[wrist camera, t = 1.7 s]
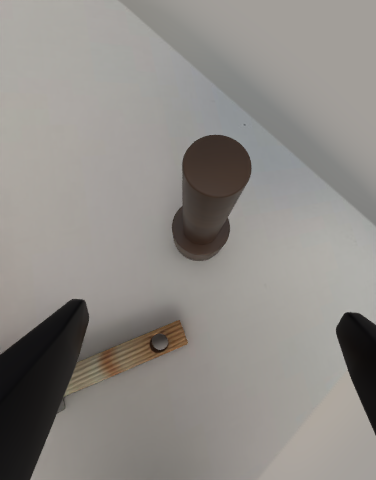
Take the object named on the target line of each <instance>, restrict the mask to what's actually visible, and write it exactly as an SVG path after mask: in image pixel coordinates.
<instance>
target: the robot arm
mask: <svg viewBox="0 0 376 480" xmlns="http://www.w3.org/2000/svg"><path fill="white" fill-rule="evenodd" d="M88 322H89V314H88V310H87V306H86V302H85V300H83V299H72V300H70V301H69V302H67V303H66V304H65V305H64V306H62V307H61V308H60V309H58V310H57V311H56V312H55V313H53V314H52V315H51V316H49V317H48V318H47V319H46V320H44V321H43V322H42V323H41V324H39V325H38V326H37V327H35V328H34V329H33V330H32V331H30V332H29V333H28V334H27V335H25V336H24V337H23V338H21V339H20V340H19V341H18V342H16V343H15V344H14V345H12V346H11V347H10V348H9V349H7V350H6V351H5V352H4V353H2V354H1V355H0V480H30V479H31V476H32V474H33V471H34V469H35V466H36V464H37V461H38V459H39V456H40V454H41V451H42V449H43V446H44V444H45V441H46V439H47V437H48V434H49V432H50V429H51V427H52V424H53V422H54V419H55V417H56V414H57V412H58V409H59V407H60V404H61V402H62V399H63V397H64V394H65V392H66V389H67V387H68V384H69V382H70V380H71V377H72V375H73V372H74V369H75V367H76V364H77V360H78V357H79V354H80V350H81V347H82V343H83V340H84V336H85V333H86V329H87V326H88ZM336 334H337V338H338V341H339V344H340V347H341V350H342V353H343V356H344V359H345V362H346V365H347V368H348V371H349V374H350V377H351V379H352V382H353V384H354V386H355V389H356V391H357V393H358V396H359V398H360V400H361V403H362V405H363V407H364V410H365V412H366V414H367V416H368V419H369V421H370V423H371V425H372V428H373V430H374V432H375V435H376V325H375V324H374V323H372V322H371V321H370V320H368V319H367V318H365V317H364V316H363V315H361V314H359V313H352V312H347V313H345V314H344V315H343V317H342V318H341V320H340V322H339V324H338V325H337V327H336Z"/></svg>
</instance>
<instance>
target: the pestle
mask: <svg viewBox="0 0 376 480" xmlns="http://www.w3.org/2000/svg"><path fill="white" fill-rule="evenodd" d="M250 175H251V160H250V157H249V155H248V153H247V151H246V150H245V148H244V147H243V146H242V145H241V144H240V143H239V142H237V141H236V140H234V139H232V138H230V137H227V136H223V135H209V136H205V137H202V138H200V139H198V140H197V141H195V142H194V143H193V144H192V145H191V146H190V147H189V148H188V149H187V151H186V153H185V155H184V158H183V162H182V200H183V206H182V207H181V208H180V209H179V210H178V211H177V213H176V214H175V216H174V219H173V223H172V232H173V238H174V243H175V246H176V248H177V249H178V251H179V252H180V253H181V254H182V255H183V256H185V257H186V258H188V259H191V260H195V261H203V260H207V259H210V258H212V257H213V256H215V255H216V254H217V253H218V252H219V250H220V249H221V248H222V247H223V245H224V244H225V243H226V241H227V239H228V236H229V232H230V225H229V220H228V216H229V214H230V212H231V211H232V209H233V207H234V205H235V204H236V202H237V200H238V198H239V196H240V195H241V193H242V191H243V189H244V188H245V186H246V184H247V182H248V181H249V178H250Z"/></svg>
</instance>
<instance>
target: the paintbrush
mask: <svg viewBox="0 0 376 480" xmlns="http://www.w3.org/2000/svg"><path fill="white" fill-rule="evenodd" d="M158 333H160V334H163V335H165V336H166V337H167V339H168V342H169V343H168V345H167V347H166V348H165V349H163V350H158V349H156V348H154V347H153V345H152V337H153V336H154V335H156V334H158ZM187 343H188V342H187V339H186V336H185V333H184V331H183V328H182V325H181V322H180V320H178V321H175V322H173V323H171V324H168V325H166V326H163V327H161V328H159V329H156V330H154V331H151V332H149V333H147V334H144V335H142V336H139V337H137V338H135V339H132V340H130V341H127V342H125V343H122V344H120V345H118V346H115V347H113V348H111V349H108V350H106V351H103V352H101V353H99V354H96V355H94V356H91V357H89V358H87V359H84V360H82V361H80V362H77V364H76V367H75V369H74V372H73V375H72V377H71V380H70V382H69V384H68V387H67V389H66V392H65V394H64V396H67V395H69V394H71V393H74V392H76V391H78V390H81V389H83V388H86V387H88V386H90V385H93V384H95V383H98V382H100V381H102V380H105V379H107V378H109V377H112V376H114V375H116V374H119V373H121V372H123V371H126V370H128V369H130V368H133V367H135V366H137V365H140V364H142V363H145V362H147V361H149V360H152V359H154V358H156V357H159V356H161V355H163V354H166V353H168V352H170V351H173V350H175V349H177V348H180V347H182V346H184V345H187ZM63 409H65V405H64V401H63V399H62V402H61V404H60V407H59V409H58V412H57V413H59V412H60V411H62V410H63Z"/></svg>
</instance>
